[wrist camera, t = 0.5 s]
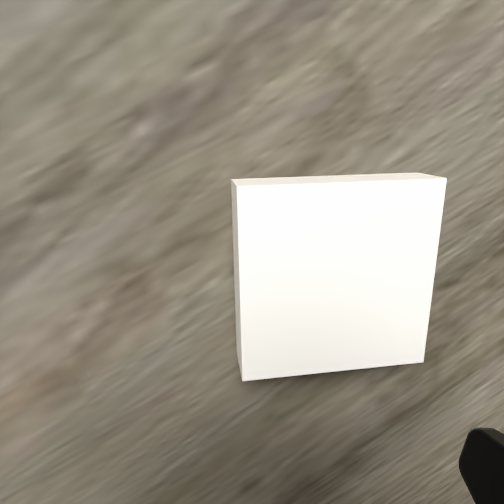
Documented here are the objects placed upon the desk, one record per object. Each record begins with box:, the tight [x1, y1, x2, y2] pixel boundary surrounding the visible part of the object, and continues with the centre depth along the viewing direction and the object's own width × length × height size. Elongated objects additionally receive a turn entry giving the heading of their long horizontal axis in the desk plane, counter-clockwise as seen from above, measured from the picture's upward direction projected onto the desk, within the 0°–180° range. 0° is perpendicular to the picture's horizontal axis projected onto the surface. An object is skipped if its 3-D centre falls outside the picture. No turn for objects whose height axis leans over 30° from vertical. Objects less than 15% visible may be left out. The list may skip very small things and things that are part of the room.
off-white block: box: [231, 173, 447, 381], centre depth 21 cm, size 10×10×3 cm
